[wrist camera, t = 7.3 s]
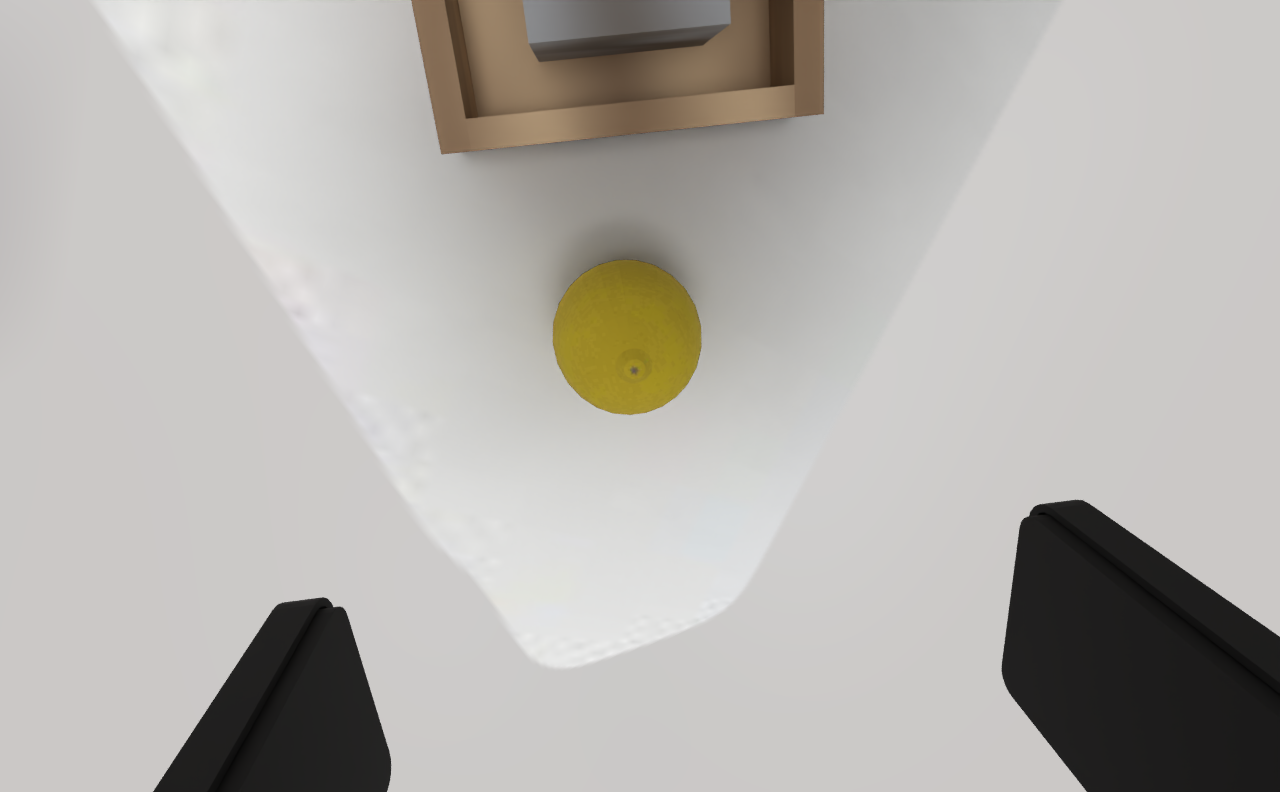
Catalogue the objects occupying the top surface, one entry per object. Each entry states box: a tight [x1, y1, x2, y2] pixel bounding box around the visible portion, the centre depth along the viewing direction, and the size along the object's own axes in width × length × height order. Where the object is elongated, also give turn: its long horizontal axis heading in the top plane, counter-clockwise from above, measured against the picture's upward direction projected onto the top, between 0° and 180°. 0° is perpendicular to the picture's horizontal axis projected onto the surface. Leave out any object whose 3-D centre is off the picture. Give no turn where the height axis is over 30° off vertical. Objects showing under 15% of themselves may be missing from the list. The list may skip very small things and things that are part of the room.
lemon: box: [553, 260, 701, 415], centre depth 25 cm, size 6×6×8 cm
